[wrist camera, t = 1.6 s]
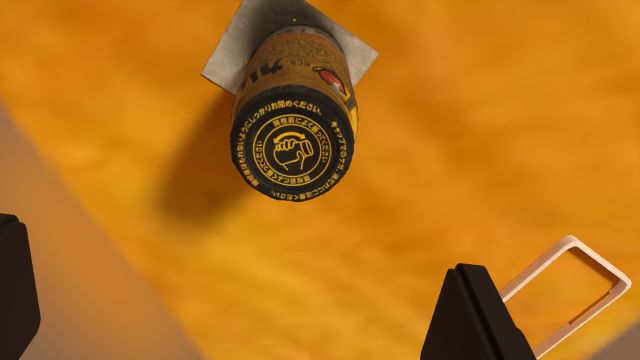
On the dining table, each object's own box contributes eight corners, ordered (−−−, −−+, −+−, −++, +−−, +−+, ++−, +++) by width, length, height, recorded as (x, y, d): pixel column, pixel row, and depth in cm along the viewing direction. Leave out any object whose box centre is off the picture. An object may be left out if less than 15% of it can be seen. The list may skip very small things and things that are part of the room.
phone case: (565, 228, 37) (431, 345, 42) (574, 239, 36) (434, 357, 41) (625, 274, 39) (490, 379, 45) (635, 285, 38) (495, 392, 43)
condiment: (313, 142, 33) (312, 245, 22) (201, 73, 31) (142, 151, 20) (378, 52, 30) (413, 121, 20) (261, -31, 28) (229, -4, 17)
